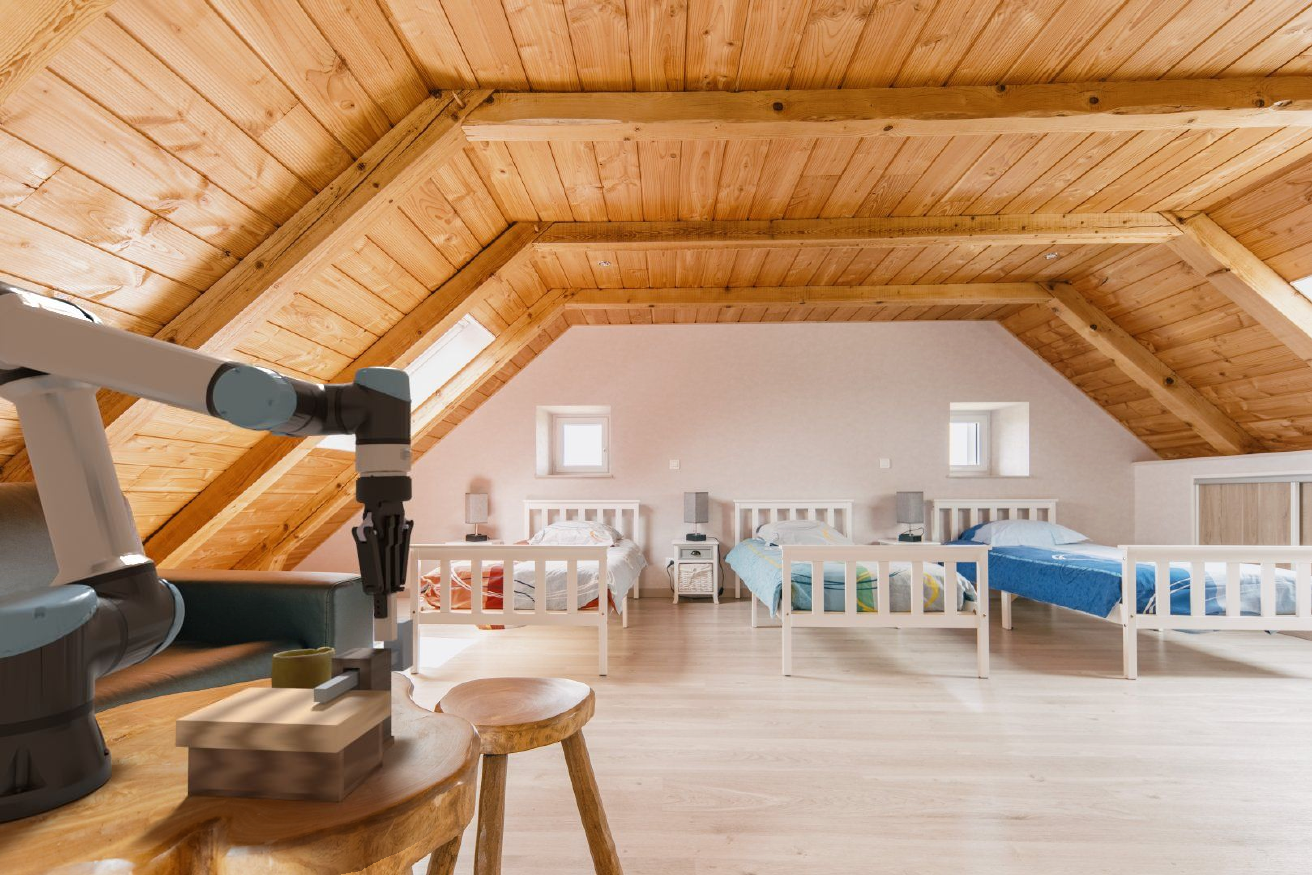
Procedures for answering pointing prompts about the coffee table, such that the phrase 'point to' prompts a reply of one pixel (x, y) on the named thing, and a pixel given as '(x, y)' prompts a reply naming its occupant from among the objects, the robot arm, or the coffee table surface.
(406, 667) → the sliding bolt
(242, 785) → the toolbox
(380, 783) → the coffee table surface
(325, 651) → the mug
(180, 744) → the lid
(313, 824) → the coffee table surface
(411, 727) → the coffee table surface
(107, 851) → the coffee table surface
